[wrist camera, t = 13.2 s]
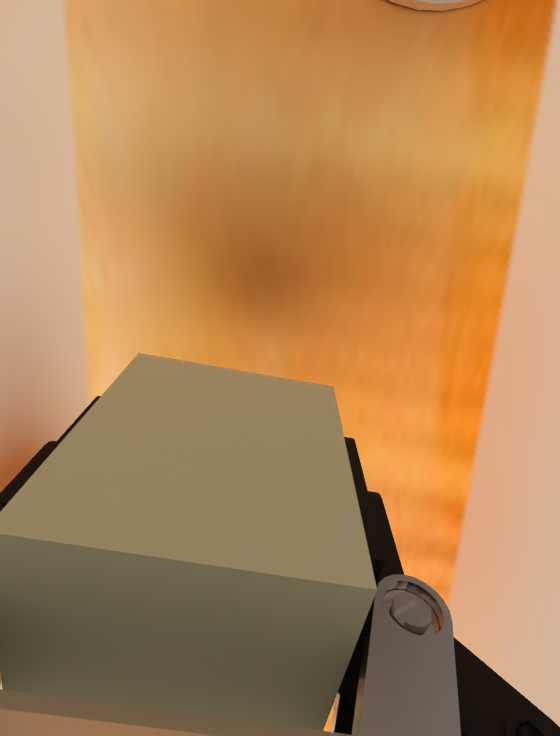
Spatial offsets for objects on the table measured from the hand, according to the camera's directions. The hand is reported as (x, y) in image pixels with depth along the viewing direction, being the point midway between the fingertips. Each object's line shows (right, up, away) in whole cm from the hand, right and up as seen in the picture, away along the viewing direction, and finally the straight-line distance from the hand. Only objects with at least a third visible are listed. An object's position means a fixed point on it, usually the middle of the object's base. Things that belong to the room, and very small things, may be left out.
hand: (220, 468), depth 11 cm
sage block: (0, 0, +1) cm, 1 cm away
